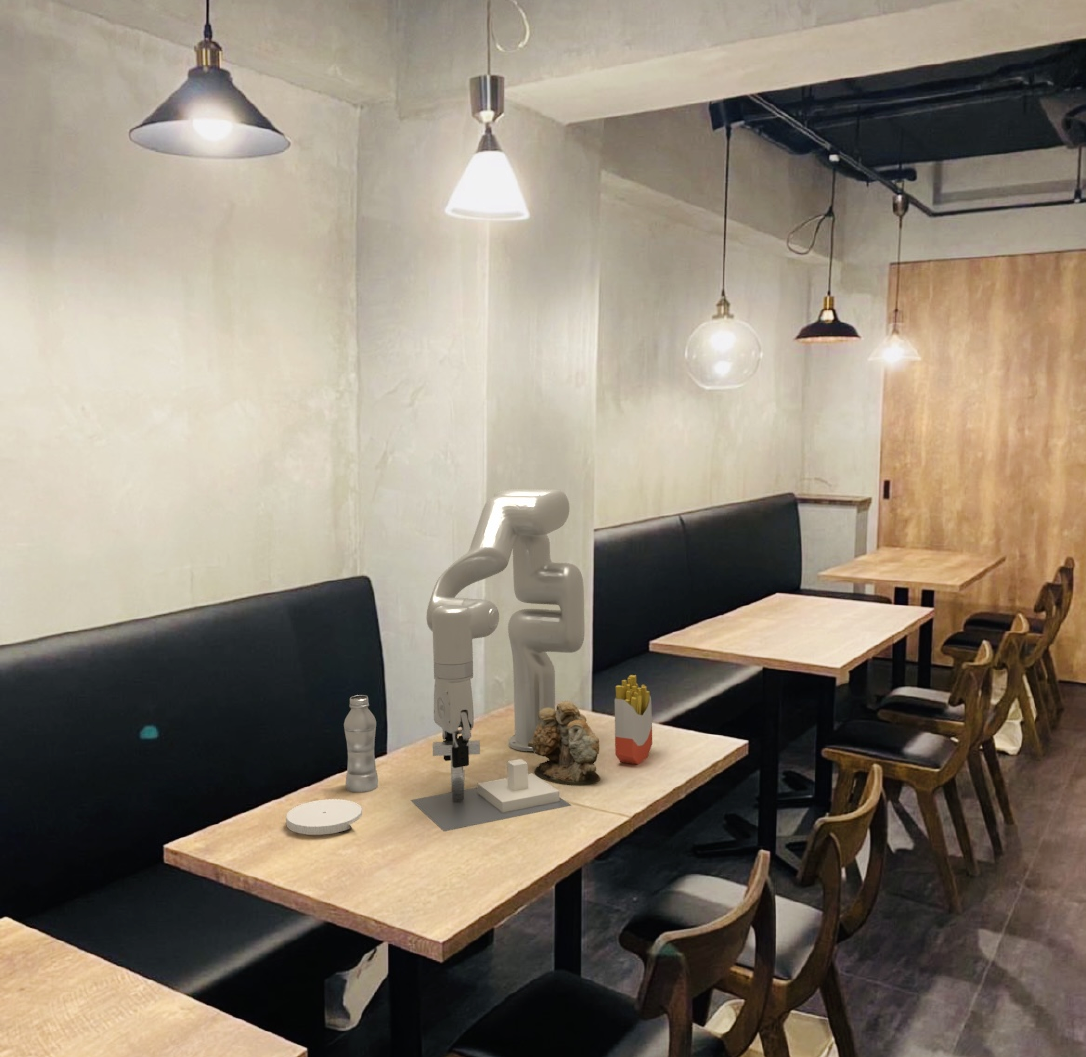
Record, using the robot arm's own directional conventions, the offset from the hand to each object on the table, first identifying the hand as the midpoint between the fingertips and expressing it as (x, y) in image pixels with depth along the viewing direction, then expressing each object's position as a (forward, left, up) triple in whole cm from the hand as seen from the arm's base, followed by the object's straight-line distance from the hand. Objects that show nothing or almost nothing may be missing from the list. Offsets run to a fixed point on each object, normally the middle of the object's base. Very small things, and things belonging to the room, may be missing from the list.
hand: (456, 762), depth 204 cm
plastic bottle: (+14, -17, -9) cm, 24 cm away
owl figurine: (-25, -3, -9) cm, 27 cm away
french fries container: (-45, -8, -9) cm, 47 cm away
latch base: (-5, +4, -9) cm, 11 cm away
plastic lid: (+25, -5, -10) cm, 27 cm away
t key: (-1, -3, -7) cm, 8 cm away
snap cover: (-11, +4, -8) cm, 14 cm away
